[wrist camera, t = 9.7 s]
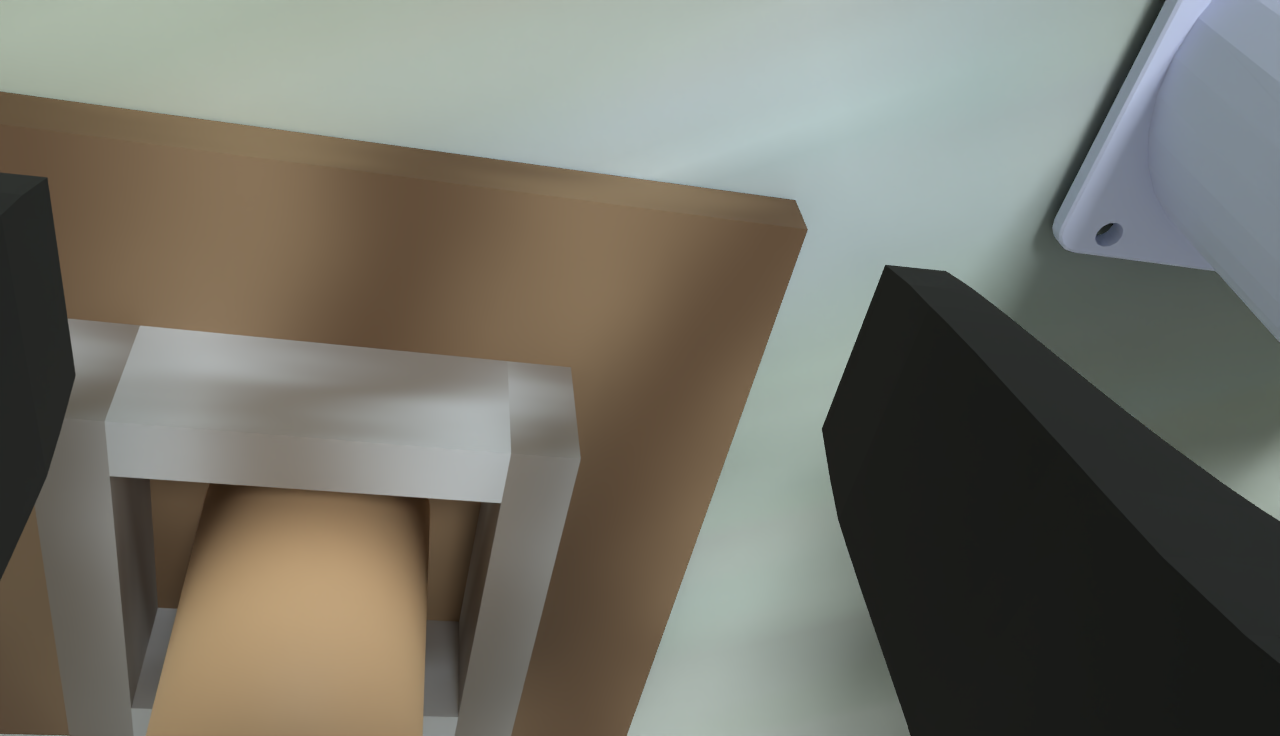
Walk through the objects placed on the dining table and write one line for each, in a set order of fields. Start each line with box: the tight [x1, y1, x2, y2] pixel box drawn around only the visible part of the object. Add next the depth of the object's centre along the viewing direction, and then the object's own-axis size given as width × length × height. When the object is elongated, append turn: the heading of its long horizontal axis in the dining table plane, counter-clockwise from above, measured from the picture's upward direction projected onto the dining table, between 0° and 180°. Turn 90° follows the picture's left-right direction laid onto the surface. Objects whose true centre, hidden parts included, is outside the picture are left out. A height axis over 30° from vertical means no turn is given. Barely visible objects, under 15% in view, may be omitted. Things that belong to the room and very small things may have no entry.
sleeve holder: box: [0, 92, 808, 736], centre depth 23 cm, size 16×16×4 cm
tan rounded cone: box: [146, 483, 430, 736], centre depth 20 cm, size 4×4×7 cm
